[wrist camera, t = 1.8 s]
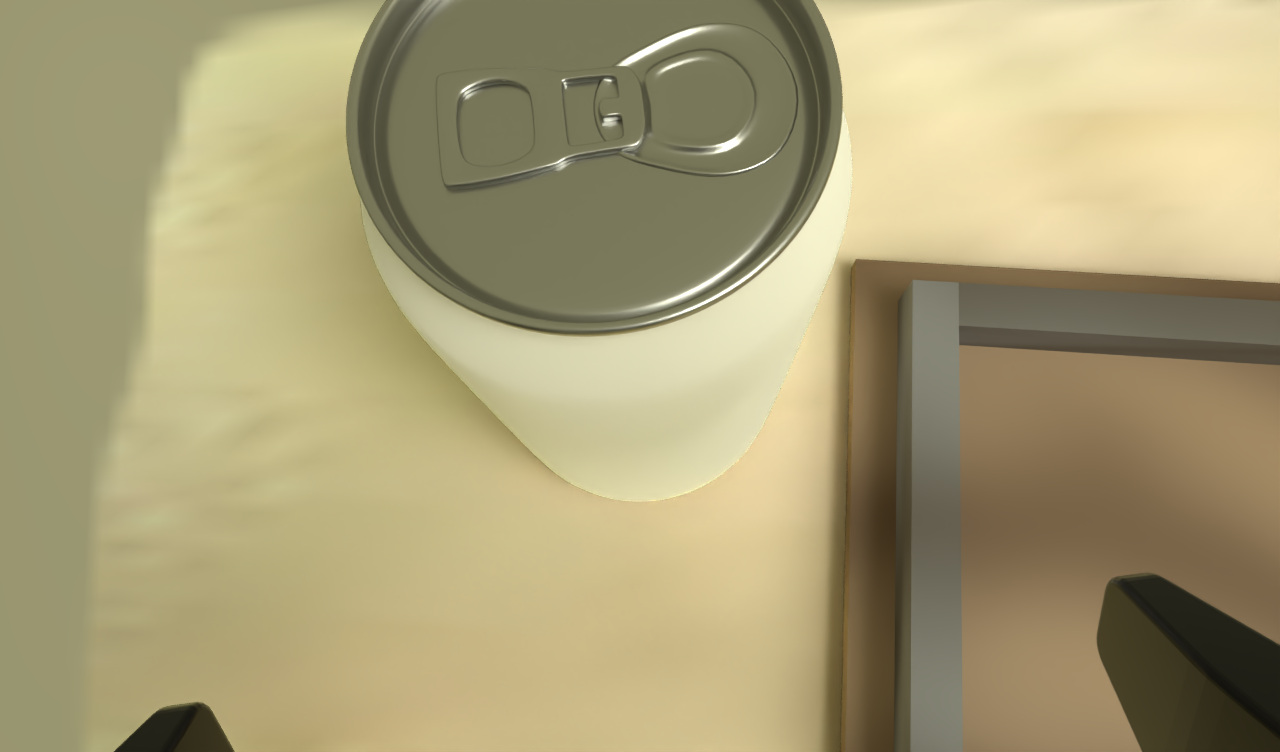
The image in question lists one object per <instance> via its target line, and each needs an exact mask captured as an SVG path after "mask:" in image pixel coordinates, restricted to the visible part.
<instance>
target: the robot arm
mask: <svg viewBox="0 0 1280 752" xmlns="http://www.w3.org/2000/svg"><path fill="white" fill-rule="evenodd" d="M1096 638H1097V648H1098V652H1099V656H1100V659H1101V661H1102V664H1103V666H1104V668H1105V670H1106V672H1107V675H1108V677H1109V679H1110V681H1111V684H1112V686H1113V688H1114V690H1115V693H1116V695H1117V697H1118V699H1119V701H1120V704H1121V706H1122V708H1123V710H1124V713H1125V715H1126V717H1127V719H1128V722H1129V724H1130V726H1131V728H1132V730H1133V733H1134V735H1135V737H1136V739H1137V742H1138V744H1139V746H1140V748H1141V751H1142V752H1280V644H1278V643H1276V642H1275V641H1273V640H1271V639H1269V638H1268V637H1266V636H1264V635H1263V634H1261V633H1259V632H1257V631H1256V630H1254V629H1252V628H1250V627H1249V626H1247V625H1245V624H1244V623H1242V622H1240V621H1238V620H1237V619H1235V618H1233V617H1231V616H1230V615H1228V614H1226V613H1225V612H1223V611H1221V610H1219V609H1218V608H1216V607H1214V606H1212V605H1211V604H1209V603H1207V602H1205V601H1204V600H1202V599H1200V598H1199V597H1197V596H1195V595H1193V594H1192V593H1190V592H1188V591H1186V590H1185V589H1183V588H1181V587H1180V586H1178V585H1176V584H1174V583H1173V582H1171V581H1169V580H1167V579H1166V578H1164V577H1162V576H1160V575H1158V574H1154V573H1138V574H1131V575H1124V576H1116V577H1114V578H1112V579H1111V580H1110V581H1109V582H1108V583H1107V585H1106V588H1105V593H1104V598H1103V603H1102V608H1101V614H1100V619H1099V624H1098V629H1097V637H1096ZM114 752H234V750H233V748H232V746H231V744H230V742H229V741H228V739H227V737H226V735H225V733H224V732H223V730H222V728H221V726H220V725H219V723H218V721H217V719H216V717H215V716H214V714H213V712H212V710H211V709H210V708H209V706H207V705H205V704H204V703H201V702H194V703H187V704H180V705H172V706H167V707H164V708H161V709H160V710H158V711H156V712H155V713H154V714H153V715H152V716H151V717H149V718H148V719H147V720H146V721H145V722H144V723H143V724H142V725H141V726H140V727H139V728H138V729H137V730H136V731H135V732H134V733H133V734H132V735H131V736H130V737H129V738H128V739H127V740H125V741H124V742H123V743H122V744H121V745H120V746H119V747H118V748H117V749H116V750H115V751H114Z"/></svg>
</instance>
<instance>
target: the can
mask: <svg viewBox="0 0 1280 752" xmlns="http://www.w3.org/2000/svg"><path fill="white" fill-rule="evenodd" d="M346 136H347V147H348V154H349V160H350V164H351V169H352V173H353V176H354V180H355V183H356V186H357V189H358V192H359V195H360V203H361V212H362V219H363V225H364V230H365V234H366V238H367V242H368V245H369V248H370V251H371V254H372V257H373V260H374V262H375V264H376V267H377V269H378V271H379V273H380V275H381V278H382V280H383V281H384V283H385V285H386V287H387V289H388V290H389V292H390V294H391V296H392V298H393V299H394V301H395V302H396V304H397V306H398V307H399V309H400V310H401V311H402V313H403V314H404V316H405V317H406V318H407V320H408V321H409V322H410V323H411V325H412V326H413V327H414V328H415V330H416V331H417V332H418V333H419V334H420V336H421V337H422V338H423V339H424V340H425V341H426V343H427V344H428V345H429V346H430V347H431V348H432V349H433V350H434V351H435V353H436V354H437V355H438V356H439V357H440V358H441V359H442V360H443V361H444V362H445V363H446V364H447V366H448V367H449V368H450V369H451V370H452V371H453V372H454V373H455V374H456V375H457V376H458V377H459V378H460V379H461V380H462V381H463V382H464V383H465V384H466V385H467V386H468V388H469V389H470V390H471V391H472V392H473V393H474V394H475V395H476V396H477V397H478V398H479V399H480V400H481V401H482V402H483V403H484V404H485V405H486V406H487V407H488V408H489V409H490V410H491V411H492V412H493V413H494V414H495V415H496V416H497V417H498V418H499V420H500V421H501V422H502V423H503V424H504V425H505V426H506V427H507V428H508V429H509V430H510V431H511V432H512V433H513V434H514V435H515V436H516V437H517V438H518V439H519V440H520V441H521V442H522V443H523V444H524V445H525V446H526V447H527V448H528V449H529V450H530V451H531V452H532V453H533V454H534V455H535V456H536V457H537V458H538V459H539V460H541V461H542V462H543V463H544V464H545V465H546V466H547V467H548V468H550V469H551V470H552V471H553V472H554V473H556V474H557V475H558V476H560V477H561V478H563V479H564V480H566V481H567V482H569V483H571V484H573V485H574V486H576V487H578V488H580V489H583V490H585V491H587V492H590V493H593V494H595V495H598V496H602V497H606V498H610V499H615V500H621V501H631V502H647V501H658V500H664V499H669V498H673V497H677V496H681V495H684V494H686V493H689V492H692V491H694V490H696V489H699V488H701V487H703V486H704V485H706V484H708V483H710V482H712V481H713V480H715V479H716V478H718V477H719V476H721V475H722V474H723V473H725V472H726V471H727V470H728V469H729V468H731V467H732V466H733V465H734V464H735V463H736V462H737V461H738V460H739V459H740V458H741V457H742V456H743V455H744V453H745V452H746V451H747V450H748V449H749V447H750V446H751V445H752V443H753V442H754V440H755V439H756V437H757V436H758V434H759V432H760V430H761V429H762V427H763V425H764V423H765V421H766V419H767V417H768V415H769V413H770V411H771V409H772V406H773V404H774V402H775V400H776V398H777V395H778V393H779V391H780V389H781V387H782V384H783V382H784V380H785V378H786V375H787V373H788V371H789V369H790V366H791V364H792V362H793V360H794V357H795V355H796V353H797V350H798V348H799V346H800V344H801V341H802V339H803V337H804V335H805V332H806V330H807V328H808V325H809V323H810V321H811V318H812V316H813V314H814V311H815V309H816V307H817V304H818V302H819V299H820V297H821V295H822V292H823V290H824V287H825V285H826V282H827V280H828V278H829V275H830V273H831V270H832V267H833V265H834V262H835V259H836V256H837V253H838V250H839V247H840V244H841V241H842V238H843V234H844V231H845V226H846V222H847V217H848V211H849V204H850V198H851V189H852V151H851V143H850V137H849V131H848V126H847V122H846V118H845V114H844V111H843V96H842V83H841V75H840V69H839V64H838V59H837V55H836V51H835V48H834V44H833V42H832V39H831V36H830V33H829V31H828V28H827V26H826V23H825V21H824V19H823V17H822V15H821V13H820V11H819V9H818V8H817V6H816V4H815V2H814V1H813V0H386V1H385V2H384V4H383V5H382V7H381V8H380V10H379V12H378V13H377V15H376V17H375V18H374V20H373V22H372V24H371V25H370V28H369V30H368V32H367V34H366V36H365V38H364V40H363V43H362V45H361V47H360V50H359V53H358V55H357V59H356V62H355V65H354V68H353V72H352V76H351V81H350V86H349V92H348V98H347V109H346Z"/></svg>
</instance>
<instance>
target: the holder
mask: <svg viewBox="0 0 1280 752" xmlns="http://www.w3.org/2000/svg"><path fill="white" fill-rule="evenodd" d="M1138 573H1154V574H1158V575H1160V576H1162V577H1164V578H1166V579H1167V580H1169V581H1171V582H1173V583H1174V584H1176V585H1178V586H1180V587H1181V588H1183V589H1185V590H1186V591H1188V592H1190V593H1192V594H1193V595H1195V596H1197V597H1199V598H1200V599H1202V600H1204V601H1205V602H1207V603H1209V604H1211V605H1212V606H1214V607H1216V608H1218V609H1219V610H1221V611H1223V612H1225V613H1226V614H1228V615H1230V616H1231V617H1233V618H1235V619H1237V620H1238V621H1240V622H1242V623H1244V624H1245V625H1247V626H1249V627H1250V628H1252V629H1254V630H1256V631H1257V632H1259V633H1261V634H1263V635H1264V636H1266V637H1268V638H1269V639H1271V640H1273V641H1275V642H1276V643H1278V644H1280V284H1278V283H1261V282H1243V281H1226V280H1208V279H1191V278H1174V277H1156V276H1139V275H1121V274H1104V273H1086V272H1069V271H1051V270H1034V269H1016V268H999V267H982V266H964V265H947V264H929V263H912V262H894V261H877V260H859V259H856V261H855V263H854V265H853V267H852V275H851V319H850V362H849V405H848V448H847V491H846V534H845V577H844V621H843V664H842V707H841V750H840V752H1142V751H1141V748H1140V746H1139V744H1138V742H1137V739H1136V737H1135V735H1134V733H1133V730H1132V728H1131V726H1130V724H1129V722H1128V719H1127V717H1126V715H1125V713H1124V710H1123V708H1122V706H1121V704H1120V701H1119V699H1118V697H1117V695H1116V693H1115V690H1114V688H1113V686H1112V684H1111V681H1110V679H1109V677H1108V675H1107V672H1106V670H1105V668H1104V666H1103V664H1102V661H1101V659H1100V656H1099V652H1098V648H1097V638H1096V637H1097V629H1098V624H1099V619H1100V614H1101V608H1102V603H1103V598H1104V593H1105V588H1106V585H1107V583H1108V582H1109V581H1110V580H1111V579H1112V578H1114V577H1116V576H1124V575H1131V574H1138Z"/></svg>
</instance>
